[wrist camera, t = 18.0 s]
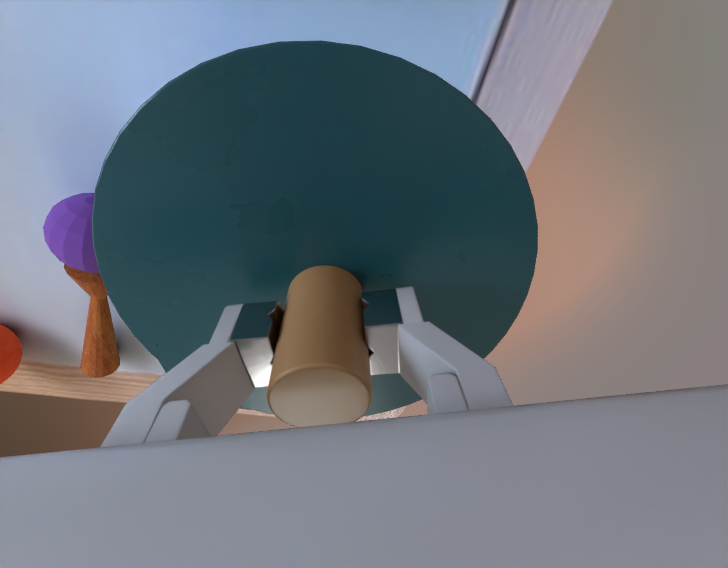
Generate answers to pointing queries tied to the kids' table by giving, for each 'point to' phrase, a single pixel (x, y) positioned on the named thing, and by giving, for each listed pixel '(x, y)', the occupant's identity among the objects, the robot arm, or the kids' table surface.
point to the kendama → (84, 278)
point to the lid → (313, 216)
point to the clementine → (9, 353)
